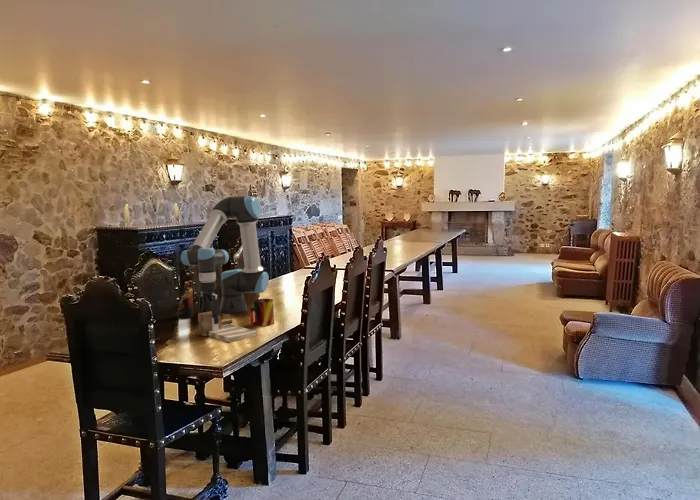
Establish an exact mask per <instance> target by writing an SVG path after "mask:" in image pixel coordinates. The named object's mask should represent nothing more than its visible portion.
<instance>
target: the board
mask: <svg viewBox="0 0 700 500" xmlns="http://www.w3.org/2000/svg"><path fill="white" fill-rule="evenodd" d="M257 335H258V334H257V331H256V330H252V329H249V328H246V327H242V326H240V325H239V326H238V325H235V324H233V323H232V324H230V325H229V324H228V325H223V326H221V329H219V330H218V331H209V332H207V336H209V337H212V338H216V339H218V340H221V341H225V342H227V343H233V342H237V341H241V340H246V339H248V338H249V339H250V338H254V337H256V336H257Z"/></svg>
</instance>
